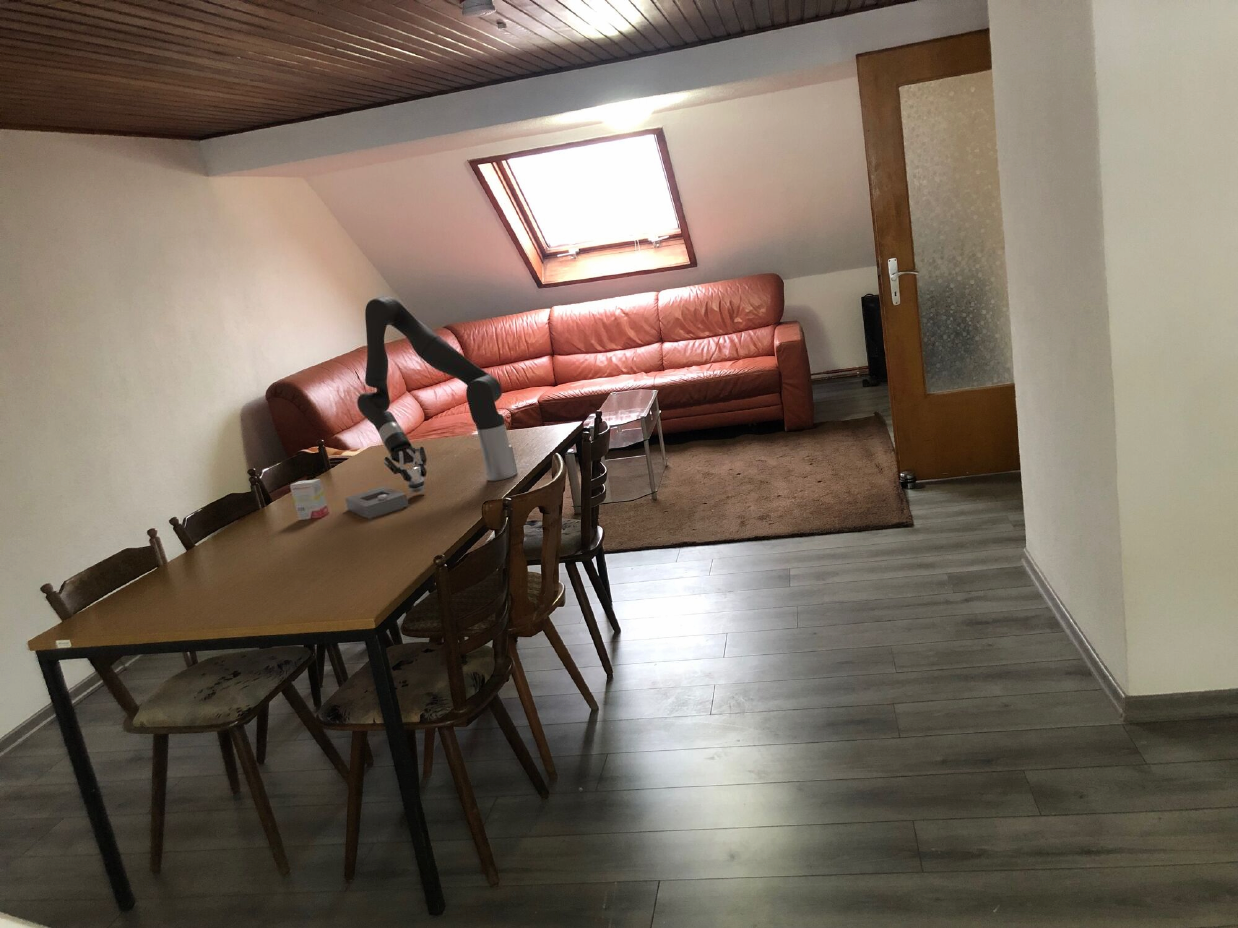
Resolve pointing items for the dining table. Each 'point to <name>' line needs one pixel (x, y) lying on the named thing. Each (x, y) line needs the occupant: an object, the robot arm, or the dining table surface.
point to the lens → (415, 479)
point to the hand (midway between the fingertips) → (416, 477)
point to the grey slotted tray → (376, 502)
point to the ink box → (309, 499)
